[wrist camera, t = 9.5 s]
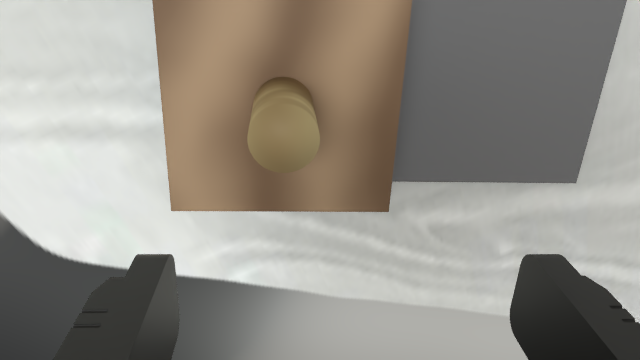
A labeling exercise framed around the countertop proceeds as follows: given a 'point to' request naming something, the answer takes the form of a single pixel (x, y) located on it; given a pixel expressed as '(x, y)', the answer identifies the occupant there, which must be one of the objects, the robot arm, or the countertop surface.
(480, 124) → the mat
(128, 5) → the countertop surface
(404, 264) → the countertop surface
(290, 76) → the lid
